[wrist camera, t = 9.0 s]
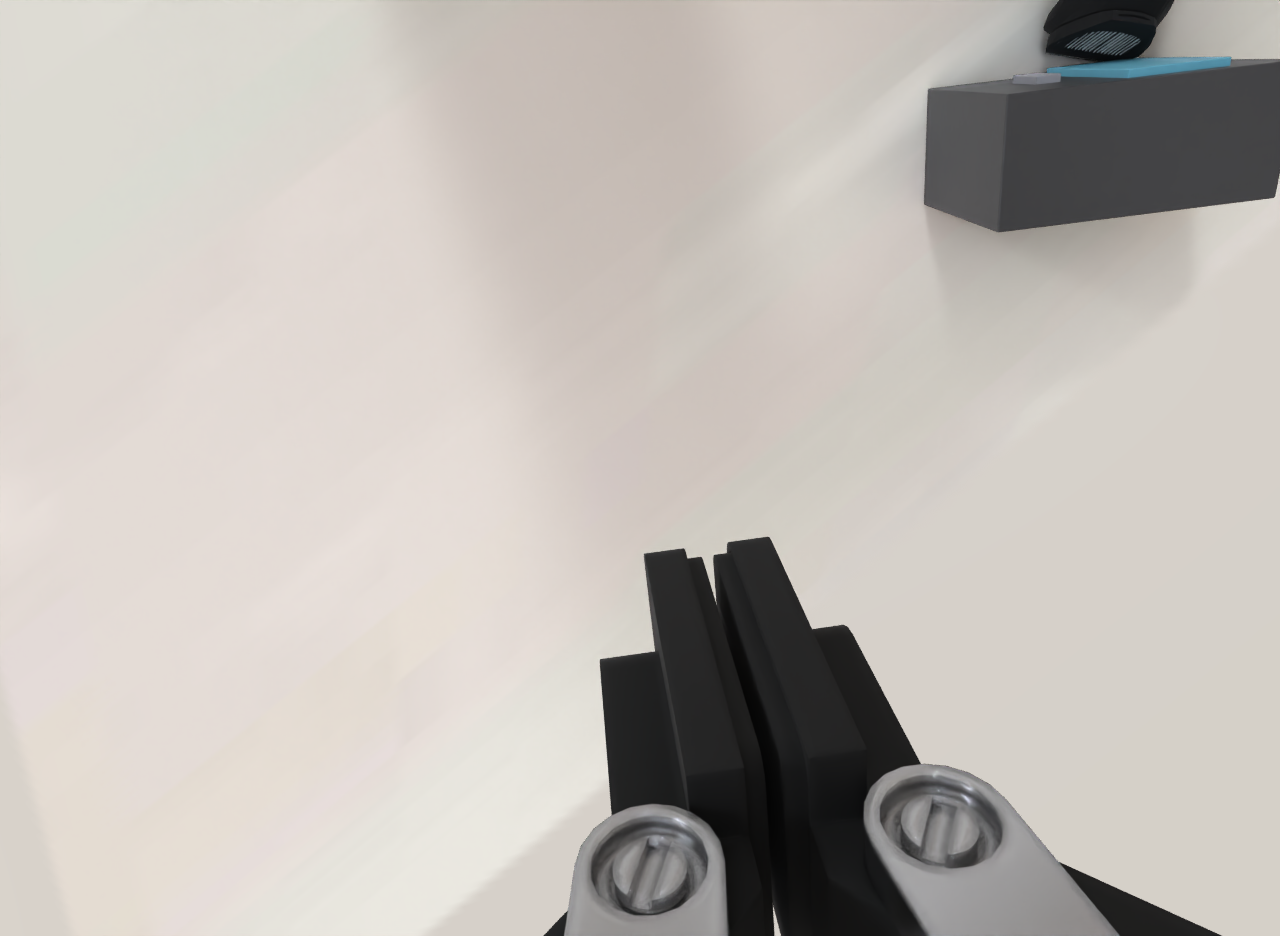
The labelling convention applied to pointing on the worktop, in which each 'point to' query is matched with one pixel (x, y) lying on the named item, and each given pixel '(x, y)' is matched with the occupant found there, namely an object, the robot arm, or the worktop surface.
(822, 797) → the robot arm
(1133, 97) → the dark grey box
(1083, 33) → the electric trimmer
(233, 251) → the worktop surface
